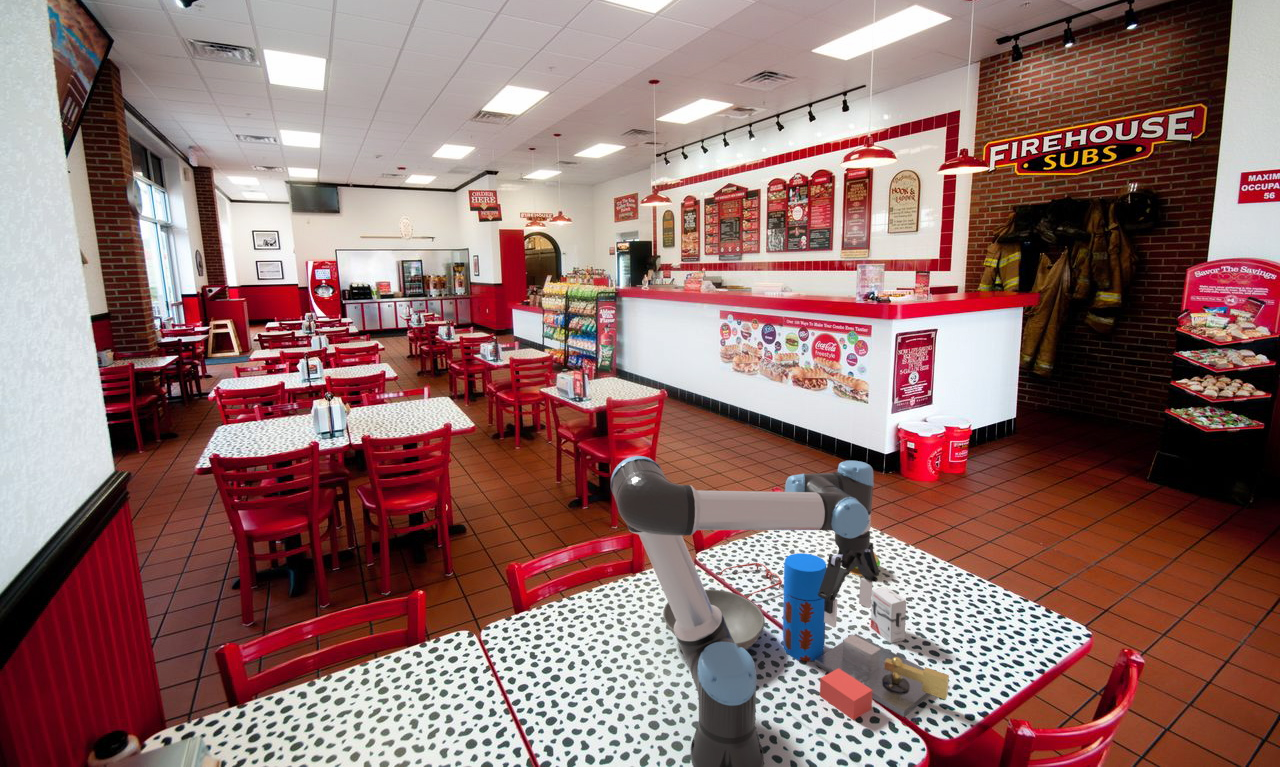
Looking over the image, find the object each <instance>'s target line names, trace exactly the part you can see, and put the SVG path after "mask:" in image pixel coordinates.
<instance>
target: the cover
mask: <svg viewBox="0 0 1280 767" xmlns="http://www.w3.org/2000/svg"><path fill="white" fill-rule="evenodd" d="M819 681H820V682H819V697H820V698H822V699H823V700H825V701H826V702H828V703H829V704H830V705H831V706H833V707H834V708H835V709H837V710H838V711H839V712H841V713H842V714H843V715H845V716H847V717H848V718H849V719H851V720H852V721H854V720H856V719H857V718H859V717H860V716H861V717H862V715H864V714H865V713H867V712H869V711H870V710H872V709H873V707H872V706H873V699H872V689H870V688H869V687H867V686H865V685H864V684H862V683H861V682H859V681H858V680H856V679H855V678H853V677H852V676H850V675H848V674H847V673H845V672H844V671H842V670H841V669H839V668H838V669H836V670H834V671H832V672H831V673H827V674H825V675H823V676H822V677H820V680H819Z"/></svg>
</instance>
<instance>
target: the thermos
mask: <svg viewBox="0 0 1280 767" xmlns="http://www.w3.org/2000/svg"><path fill="white" fill-rule="evenodd" d="M783 566H784V567H783V610H782V611H783V612H782V613H783V614H782V640H783V650H784V651H785V653H786V654H787V655H788V656H790V657H791V658H793V659H795V660H797V661H802V662H813V661H814V662H815V659H816V658H818V657H820V656H821V655H823V654H824V653H825V651H824V650H825V642H826V623H824V613H825V611H824V602H825V599H823V598H821V597H819V596H818V593H819V590H820V587H821V584H822V581H823V578H824V575H825V572H826V569H827V562H826V561H825V560H824V559H823V558H821V557H820V556H818V555H814V554H812V553H804V552H803V553H801V552H800V553H799V552H797V553H792V554H790V555H788V556H786V557H785V558H784V564H783Z"/></svg>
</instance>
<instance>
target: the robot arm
mask: <svg viewBox="0 0 1280 767" xmlns="http://www.w3.org/2000/svg"><path fill="white" fill-rule="evenodd" d="M874 487H875V483H874V469H873V467H872V466H871V465H870V464H868V463H867V462H863V461H860V460H859V461H858V460H845V461H842V462H840V463H838V467H837V471H834V472H822V473H821V472H820V473H819V472H818V473H800V474H794V475H790V476H788V477H787V479H786V481H785V486H784V491H756V490H755V491H754V490H753V491H752V490H751V491H750V490H749V491H747V490H745V491H744V490H700V489H698V490H697V489H695V487H693V486H692V485H691V484H679V483H675V482H674V483H673V482H670V481H669V480H668V479H667V476H666V475H665V474H664V472H663V469H662V468H661V466H660V465H659V464H658V463H657V461H654V460H653V459H652V458H649V457H647V456H642V455H635V456H630V457H627V458H625V459H623V460H622V461H621V462H619V464H618V465H617V466H616V467H615V468H614V470H613V472H612V474H611V478H610V491H611V493H612V495H613V498H614V501H615V503H616V506H617V511H618V513H619V516H620V517H621V518H622V520H623V522H625V524H626V526H627V530H628V531H629V532H630V533H632V534H635V535H638V536H639V538H640V541H641V543H642V546H643V548H644V550H645V553H646V555H647V557H648V559H649V561H650V564H651V566H652V568H653V571H654V573H655V576H656V578H657V580H658V582H659V585H660V586H661V588H662V589H661V590H662V591H663V593H664V596H665V598H666V601H667V603H669V605H670V607H671V610H672V612H673V614H674V617H675V619H676V622H675V624H674V633H675V635H674V636H675V638H676V640H677V642H678V645H679V646H680V649H681V650H680V651H681V652H682V653H683V657H684V658H685V661H686V663H687V666H688V668H689V671H690V674H691V677H692V679H693V683H694V686H695V689H696V691H697V696H698V724H697V727H696V730H695V732H694V735H693V738H692V741H691V744H690V761H691V765H692V767H764V757H765V756H764V750H763V746H762V744H761V741H760V738H759V735H758V731H757V729H756V710H757V709H756V704H757V702H756V701H757V700H756V699H757V685H758V684H757V682H758V678H757V671H756V665H755V661H754V659H753V657H752V655H751V654H750V653H749V651H747V649H746V650H745V649H744V648H742V647H740V648H738V645H736V644H735V643H734V640H733V638H732V636H731V634H730V632H729V629H728V627H727V624H726V622H725V620H724V617H723V615H722V613H721V611H720V609H719V608H718V607H716V606H714V605H711V604H710V601H709V599H708V596H707V594H706V592H705V590H706V589H705V587H704V585H703V582H702V580H701V577H700V576H699V573H698V571H697V568H696V566H695V563H694V561H693V558H692V556H691V554H690V552H689V549H688V546H687V544H686V542H685V540H684V537H683V536H693V535H694V534H695V533H696V531H824V532H825V531H828V532H829V531H831V532H834V543H835V545H836V547H838V551H837V554H836V555H834V553H833V554H832V553H830V554H829V556H828V561H827V562H828V563H827V565H826V568H827V569H826V572H825V575H824V578H823V581H822V584H821V587H820V590H819V593H818V596H819V597H821V598H823V599H825V602H824V611H825V613H824V623H825V625H828V626H830V627H832V628H836V627H837V619H838V618H837V617H838V616H837V615H838V601H839V600H838V599H836V597H838V596H837V595H838V594H839V592H840V590H841V588H842V585H843V583H844V581H845V579H846V577H847V576H848V575H850V574H851V573H850V571H851V570H852V569H854V568H858V569H859V571H860V572H861V574H862V576H863V577H860V581H859V582H860V583H859V597H858V598H859V599H858V600H859V601H858V604H859V605H862V606H864V607H866V608H867V609H870V608H871V602H872V590H873V582H874V583H877V581H878V579H879V578H878V577H879V574H880V571H879V566H877V563H876V559H875V556H874V553H875V552H874V543H872V542H871V532H870V530H871V525H872V507H873V506H872V505H873V492H874Z"/></svg>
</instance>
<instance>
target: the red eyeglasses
mask: <svg viewBox="0 0 1280 767" xmlns="http://www.w3.org/2000/svg"><path fill="white" fill-rule="evenodd" d="M751 566H756V570H757V571H759V567H760V566H762V567H764V568H765V569H766V570H765V571H766V574H765V578H768V579H769V582H770V581H772V577H773V576H776V577H777V578H778V582H776V583H774V584H771V585H770V586H767V587H764V588H762V589H760V590H757V591H754V592H752V593H750V594H749V595H747V596H746V597H745V598H746V599H748V598H749V597H750V596H752V595H754V594H757V593H761V592H763V591H766V590H769V589H771V588H774V587H777V586H778V589H780V588H781V586H782V584H783V581H782V579H781V578H780V576H779V575H778V574H776V573H773V572H772V571H770V570H769V569H768V568H767V566H766V565H765V564H763V563H758V562H751V563H746V564H741V565H735V566H730V567H726V568H723V570H721V571H720V573H719V576H721V575H722V574H723V572H725V571H726V570H729V569H736V568H743V567H751Z"/></svg>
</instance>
